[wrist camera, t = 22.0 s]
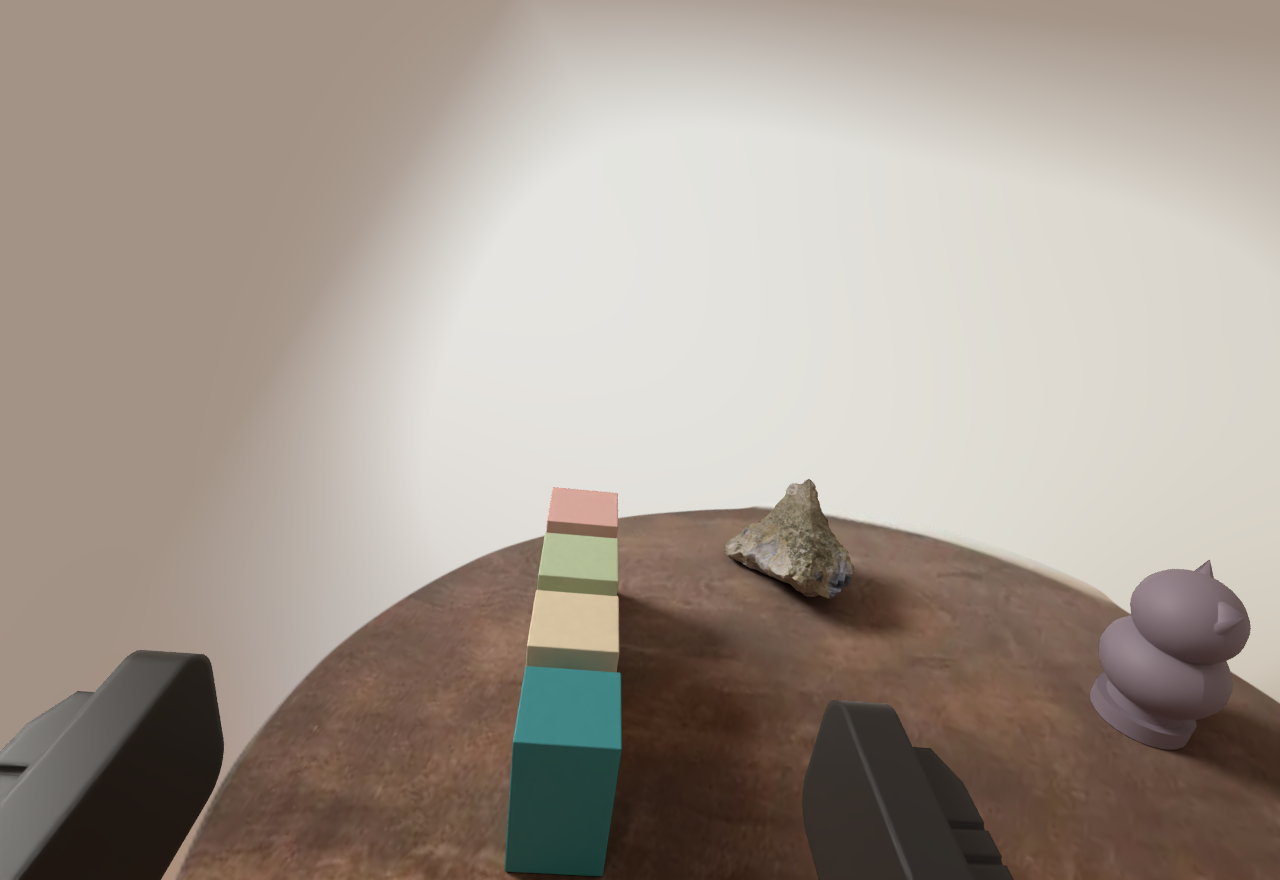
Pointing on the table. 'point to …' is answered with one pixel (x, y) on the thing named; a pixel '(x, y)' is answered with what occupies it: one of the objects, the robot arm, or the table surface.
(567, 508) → the line block
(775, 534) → the rock
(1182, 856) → the table surface
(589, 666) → the line block
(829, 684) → the table surface
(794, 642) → the table surface
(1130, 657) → the cat figurine
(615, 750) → the teal block
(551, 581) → the line block
